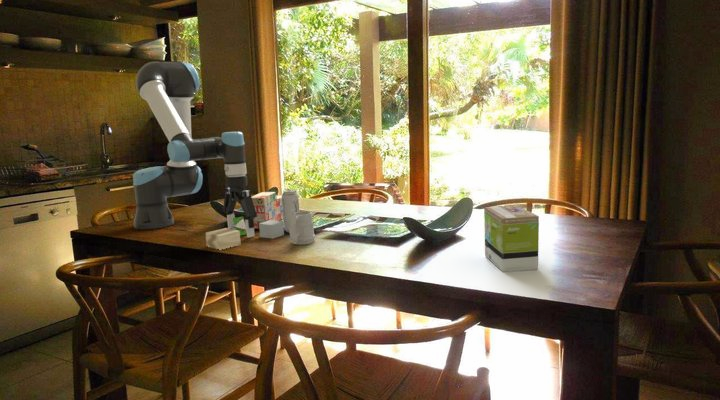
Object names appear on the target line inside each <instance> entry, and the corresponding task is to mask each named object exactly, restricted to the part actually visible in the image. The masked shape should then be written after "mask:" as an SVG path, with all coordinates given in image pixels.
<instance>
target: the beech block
mask: <svg viewBox="0 0 720 400" xmlns="http://www.w3.org/2000/svg"><path fill="white" fill-rule="evenodd" d="M205 241H206V242H205V243H206V247H207V246H208V247H207V248H210V247H211V248H210V249H214V248H215V249H214V250H217V249H219V250H218V251H223V250H226V248H227V249H230V247H231V248H234V246H235V247H238V246H241V245H242V244H241V243H242V241H241V236H240V231H237V230H233V229H228V227H224V228H220V229H216V230H212V231H207V232H205ZM222 249H223V250H222Z"/></svg>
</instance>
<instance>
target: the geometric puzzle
mask: <svg viewBox="0 0 720 400" xmlns="http://www.w3.org/2000/svg"><path fill="white" fill-rule="evenodd" d="M245 218H246V216H245V217H244V215H243V216H239V217H235V218H233V221H234V224H235V225H234V224H233V225H234V226H235V227H233V228H235V229H236V230H237V231H240V237H241V236H245V235H247V232H246V221H245ZM233 228H230V229H233Z"/></svg>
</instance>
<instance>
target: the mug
mask: <svg viewBox="0 0 720 400" xmlns="http://www.w3.org/2000/svg"><path fill="white" fill-rule="evenodd" d="M294 212H295V211H293V210H291V219H290V229H289V232H288V233H289V238H290V240H291V242H292V244H295V245H301V246H302V245H309V244H313V243H314V242H315V241H316V240H315V239H316V234H315V229H314V224H315V221H314V219H313V213H312V211H306V210H304V211H300V212H295V213H294Z"/></svg>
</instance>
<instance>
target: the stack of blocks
mask: <svg viewBox="0 0 720 400" xmlns="http://www.w3.org/2000/svg"><path fill="white" fill-rule="evenodd" d="M251 198H252V201H253V204H254V207H255V210H256V214H257V217H255V218H254V219H253V220H254V230H257V229H258V230H260V229H259V224H260V223H263V222H266V221H269V220H274V221H279V220H280V221H282V220H284V219H283V205H282V194H281V195H277V191H262V192H259V193H257V194H255V195H251ZM281 219H282V220H281Z"/></svg>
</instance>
